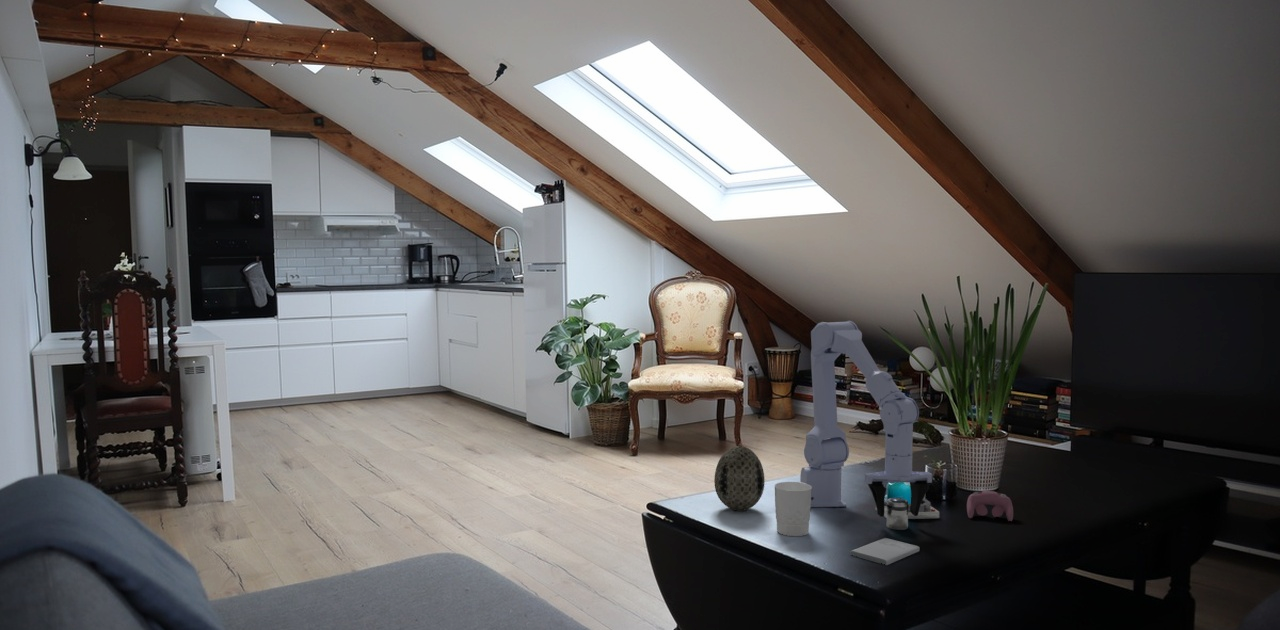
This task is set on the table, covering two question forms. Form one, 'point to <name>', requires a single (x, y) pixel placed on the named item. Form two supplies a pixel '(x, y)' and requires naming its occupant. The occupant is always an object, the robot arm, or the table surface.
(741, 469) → the decorative egg
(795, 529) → the white cup
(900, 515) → the lens
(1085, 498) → the table surface
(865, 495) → the table surface
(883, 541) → the external hard drive
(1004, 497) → the video game controller
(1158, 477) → the table surface
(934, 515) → the white display stand
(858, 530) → the table surface
